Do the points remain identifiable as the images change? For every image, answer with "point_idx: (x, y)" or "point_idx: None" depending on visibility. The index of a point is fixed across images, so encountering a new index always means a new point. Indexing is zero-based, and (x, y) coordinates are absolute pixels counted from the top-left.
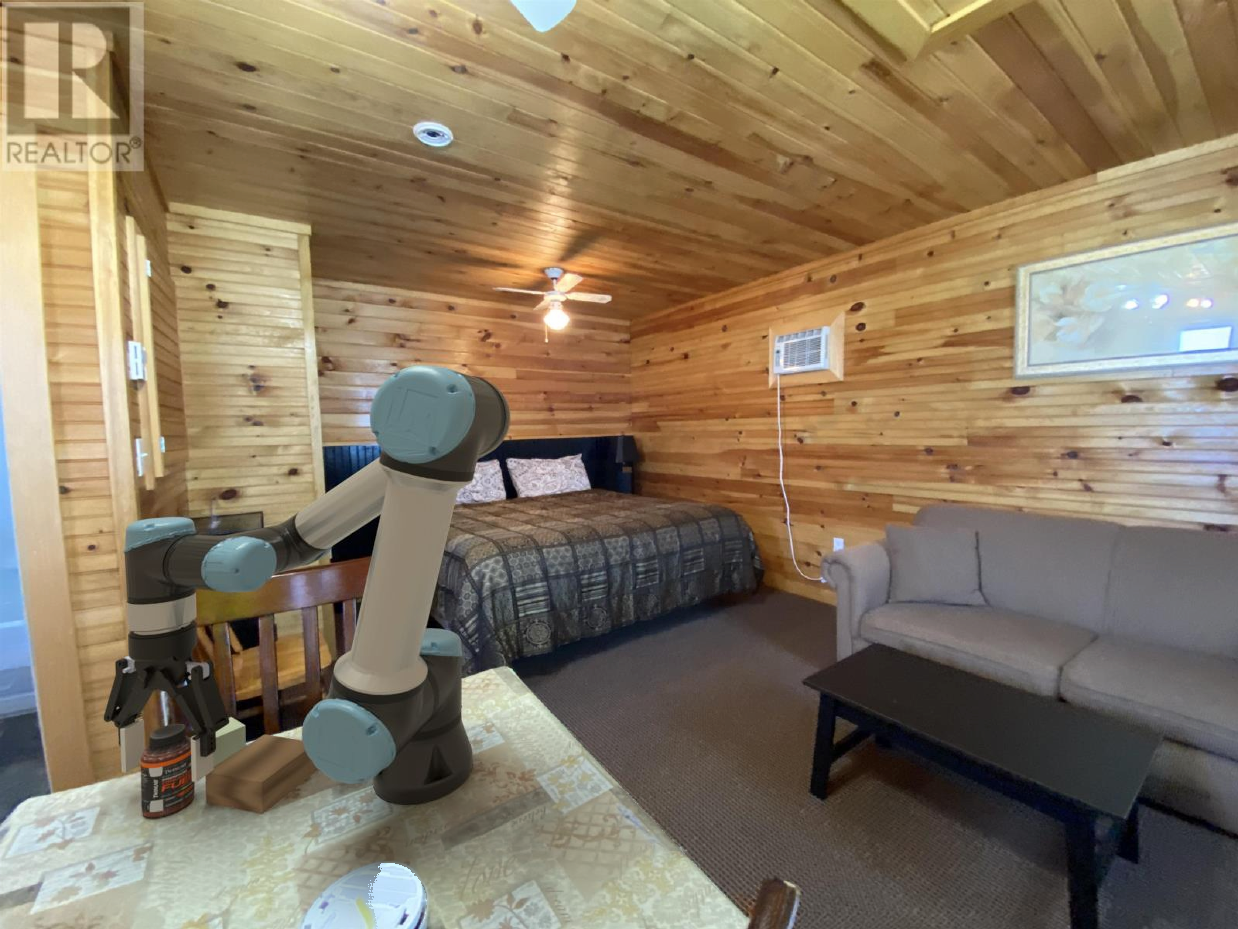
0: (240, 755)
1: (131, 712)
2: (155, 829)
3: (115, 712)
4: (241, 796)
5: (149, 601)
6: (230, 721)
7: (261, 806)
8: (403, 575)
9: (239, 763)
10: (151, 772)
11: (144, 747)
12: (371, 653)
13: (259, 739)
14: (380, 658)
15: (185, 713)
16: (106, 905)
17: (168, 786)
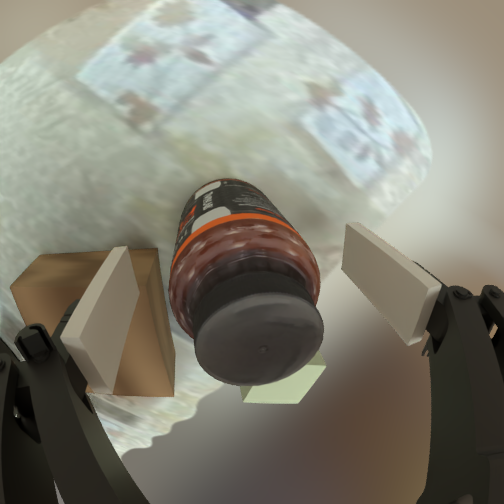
0: (138, 346)
1: (454, 348)
2: (177, 161)
3: (490, 319)
4: (64, 266)
5: None
6: (286, 398)
7: (33, 261)
8: None
9: None
10: (221, 211)
11: (359, 288)
12: None
13: (164, 386)
14: None
15: (79, 447)
16: (82, 28)
17: (185, 219)
